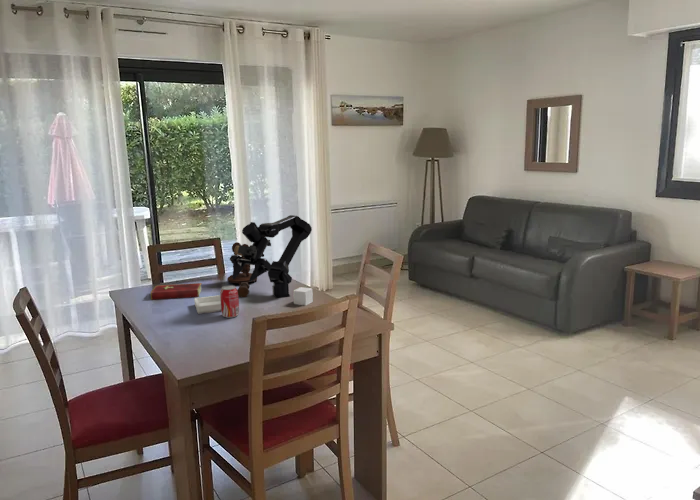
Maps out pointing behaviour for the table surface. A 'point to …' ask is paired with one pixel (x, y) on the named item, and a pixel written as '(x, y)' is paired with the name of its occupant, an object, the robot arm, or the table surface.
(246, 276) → the brown round based stand
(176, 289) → the hardcover book
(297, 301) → the white cube
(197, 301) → the tray
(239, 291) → the bolt
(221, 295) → the soda can
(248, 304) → the table surface
